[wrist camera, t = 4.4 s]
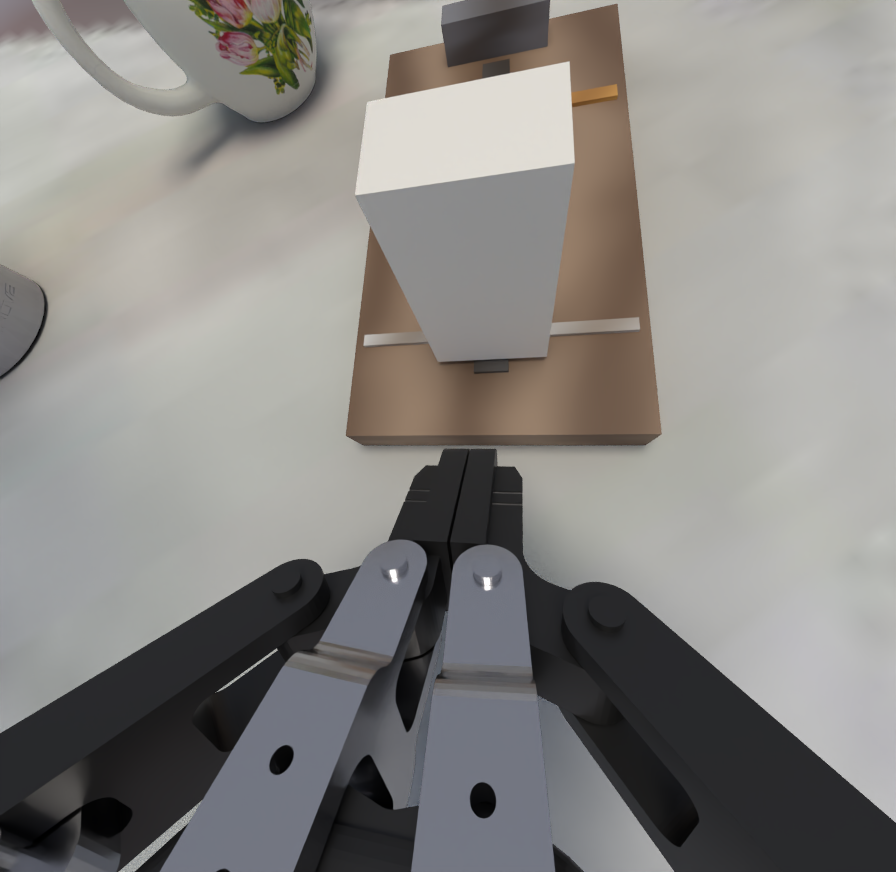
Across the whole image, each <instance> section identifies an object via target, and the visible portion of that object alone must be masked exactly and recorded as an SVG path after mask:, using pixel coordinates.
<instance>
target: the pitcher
mask: <svg viewBox="0 0 896 872" xmlns="http://www.w3.org/2000/svg"><path fill="white" fill-rule="evenodd" d="M123 1H124V2H125V4H126V5H127V6H128V8H129V9H130V10H131V12H132V13H133V14H134V15H135V17H136V18H137V20H138V21H139V22H140V23H141V25H142V26H143V27H144V29H145V30H146V31H147V32H148V33H149V35H150V36H151V37H152V38H153V39H154V41H155V42H156V43H157V44H158V45H159V46H160V48H161V49H162V50H163V51H164V52H165V53H166V54H167V55H168V56H169V57H170V58H171V59H172V60H173V61H174V62H175V63H176V64H177V65H178V66H179V67H180V68H181V69H182V70H183V71H184V72H185V74H186V76H187V81H186V83H185V84H184V85H182V86H180V87H178V88H175V89H169V90H160V89H152V88H147V87H142V86H139V85H136V84H133V83H131V82H129V81H127V80H125V79H123V78H122V77H121V76H119V75H118V74H116V73H115V72H114V71H112V70H111V69H110V68H109V67H108V66H107V65H106V64H105V63H104V62H103V61H102V60H100V59H99V58H98V56H97V55H96V54H95V53H94V52H93V51H92V50H91V49H90V47H89V46H88V45H87V44H86V43H85V42H84V40H83V39H82V37H81V36H80V35H79V33H78V32H77V30H76V29H75V28H74V26H73V24H72V23H71V21H70V19H69V17H68V16H67V14H66V12H65V10H64V8H63V6H62V3H61V1H60V0H32V2H33V4H34V6H35V8H36V9H37V11H38V12H39V14H40V16H41V17H42V19H43V20H44V22H45V24H46V25H47V27H48V28H49V29H50V31H51V32H52V33H53V35H54V36H55V37H56V38H57V40H58V41H59V42H60V44H61V45H62V46H63V47H64V49H65V50H66V51H67V52H68V53H69V54H70V55H71V56H72V57H73V58H74V59H75V60H76V62H77V63H78V64H79V65H80V66H81V67H82V68H83V69H84V70H85V71H86V72H87V73H88V74H89V75H90V76H92V77H93V78H94V79H95V80H96V81H97V82H98V83H99V84H100V85H101V86H103V87H104V88H105V89H106V90H108V91H109V92H111V93H112V94H113V95H115V96H116V97H118V98H119V99H120V100H122V101H124V102H126V103H128V104H130V105H132V106H134V107H136V108H138V109H141V110H143V111H146V112H149V113H153V114H158V115H163V116H182V115H186V114H190V113H193V112H195V111H198V110H200V109H202V108H204V107H206V106H209V105H211V104H214V103H223V104H224V105H226V106H227V107H229V108H230V109H232V110H234V111H236V112H238V113H240V114H241V115H244V116H245V117H246V118H247V119H249V120H251V121H254V122H269V121H274V120H277V119H280V118H282V117H284V116H286V115H288V114H290V113H291V112H293V111H294V110H295V109H297V108H298V107H299V106H300V105H301V104H302V103H303V102H304V101H305V100H306V99H307V97H308V96H309V95H310V93H311V91H312V89H313V87H314V84H315V79H316V74H315V69H316V58H317V49H316V35H315V27H314V20H313V15H312V9H311V4H310V0H123Z"/></svg>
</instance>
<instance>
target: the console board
mask: <svg viewBox="0 0 896 872" xmlns="http://www.w3.org/2000/svg"><path fill="white" fill-rule="evenodd" d="M549 8H550V0H465V1H460V2H456V3H452V4H448V5H444V6H442V21H441V27H442V33H443V39H444V43H441V44H436V45H432V46H427V47H423V48H418V49H414V50H410V51H405V52H401V53H396V54H392V55H390V61H389V69H388V78H387V87H386V95H385V98H389V97H394V96H399V95H404V94H409V93H414V92H419V91H424V90H429V89H434V88H439V87H444V86H449V85H454V84H459V83H464V82H469V81H474V80H479V79H484V78H489V77H494V76H499V75H504V74H509V73H514V72H519V71H524V70H529V69H534V68H539V67H544V66H549V65H554V64H558V63H563V62H568V61H569V62H570V81H571V100H572V120H573V139H574V158H575V165H574V172H573V179H572V186H571V193H570V200H569V206H568V213H567V220H566V227H565V234H564V241H563V248H562V255H561V262H560V269H559V276H558V282H557V289H556V296H555V303H554V310H553V317H552V324H551V331H550V338H549V345H548V352H547V357H532V358H510V359H489V360H468V361H446V362H438V361H437V359H436V357H435V355H434V353H433V351H432V349H431V347H430V345H429V343H428V341H427V339H426V337H425V335H424V333H423V331H422V329H421V327H420V325H419V323H418V321H417V319H416V317H415V315H414V313H413V311H412V309H411V307H410V305H409V303H408V301H407V299H406V297H405V295H404V293H403V291H402V289H401V287H400V285H399V283H398V281H397V279H396V277H395V275H394V273H393V271H392V269H391V267H390V265H389V263H388V261H387V259H386V257H385V255H384V253H383V251H382V249H381V247H380V245H379V243H378V241H377V239H376V237H375V235H374V233H373V231H372V229H371V227H370V233H369V241H368V250H367V258H366V267H365V276H364V284H363V293H362V301H361V310H360V318H359V327H358V336H357V344H356V353H355V361H354V370H353V379H352V387H351V396H350V404H349V413H348V422H347V430H346V436H347V437H349V438H351V439H353V440H354V441H356V442H358V443H360V444H362V445H646V444H648V443H649V442H651V441H652V440H654V439H655V438H657V437H658V436H660V435H661V434H662V433H661V424H660V414H659V404H658V395H657V385H656V375H655V365H654V356H653V346H652V336H651V326H650V317H649V307H648V297H647V287H646V278H645V268H644V258H643V248H642V239H641V229H640V219H639V209H638V200H637V190H636V180H635V170H634V161H633V151H632V141H631V132H630V122H629V112H628V102H627V93H626V83H625V73H624V63H623V54H622V44H621V34H620V24H619V15H618V5H617V4H614V5H609V6H605V7H600V8H596V9H592V10H587V11H583V12H578V13H574V14H569V15H565V16H561V17H556V18H552V19H549Z"/></svg>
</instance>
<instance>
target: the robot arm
mask: <svg viewBox="0 0 896 872" xmlns="http://www.w3.org/2000/svg"><path fill="white" fill-rule="evenodd" d="M43 315H44V298H43V293H42V291H41V289H40V287H39V286H38V285H37V284H36V283H35V282H34V281H32V280H30V279H28V278H26V277H24V276H22V275H20V274H18V273H16V272H14V271H12V270H11V269H9V268H7V267H5V266H3V265H1V264H0V376H1V375H2V374H4V373H5V372H7V371H8V370H9V369H10V368H11V367H13V366H14V365H15V364H16V363H17V362H18V361H19V360H20V359H21V357H22V356H23V355H24V354H25V352H26V351H27V350H28V349H29V347H30V345H31V344H32V342H33V340H34V339H35V337H36V335H37V333H38V330H39V328H40V326H41V322H42V318H43ZM445 611H448V619H447V628H446V638H445V647H444V657H443V665H442V670H441V673H440V674H438V675H437V677H436V680H435V684H434V689H433V695H432V702H431V710H430V718H429V727H428V735H427V743H426V752H425V760H424V769H423V777H422V785H421V794H420V802H419V806H415V807H408V808H406V807H407V803H408V799H409V795H410V791H411V786H412V781H413V775H414V767H415V749H416V741H417V735H418V731H419V727H420V723H421V719H422V716H423V712H424V708H425V704H426V701H427V697H428V693H429V689H430V685H431V682H432V678H433V674H434V670H435V666H436V663H437V659H438V655H439V651H440V647H441V642H442V635H441V630H442V625H443V619H444V614H445ZM276 648H277V649H278V651H276V652H275V653H274V654H272V655H271V656H270V657H268V658H267V659H265V660H264V661H263V662H261V663H260V664H259V665H257V666H256V667H254V668H253V669H252V670H250V671H249V672H248V673H246V674H245V675H243V676H242V677H241V678H239V679H238V680H237V681H235V682H234V683H232V684H231V685H230V686H228V687H227V688H225V689H223V690H221V691H219V692H217V691H218V690H219V689H221V688H222V687H223V686H225V685H226V684H228V683H229V682H230V681H232V680H233V679H235V678H236V677H237V676H239V675H240V674H241V673H243V672H244V671H246V670H247V669H248V668H250V667H251V666H252V665H254V664H255V663H257V662H258V661H259V660H261V659H262V658H264V657H265V656H266V655H268V654H269V653H270V652H272V651H273V650H275V649H276ZM215 692H216V693H215ZM537 695H538V696H540V697H542V698H544V699H546V700H548V701H550V702H552V703H554V704H556V705H557V706H559V708H560V710H561V712H562V714H563V716H564V717H565V719H566V720H567V722H568V723H569V724H570V726H571V727H572V729H573V730H574V731H575V733H576V734H577V736H578V737H579V738H580V740H581V741H582V743H583V744H584V745H585V747H586V748H587V750H588V751H589V752H590V754H591V755H592V757H593V758H594V759H595V761H596V762H597V764H598V765H599V766H600V768H601V769H602V771H603V772H604V773H605V775H606V776H607V778H608V779H609V780H610V782H611V783H612V785H613V786H614V787H615V789H616V790H617V792H618V793H619V794H620V796H621V797H622V799H623V800H624V802H625V803H626V804H627V806H628V807H629V809H630V810H631V811H632V813H633V814H634V816H635V817H636V818H637V820H638V821H639V823H640V824H641V825H642V827H643V828H644V830H645V831H646V832H647V834H648V835H649V837H650V838H651V839H652V841H653V842H654V844H655V845H656V846H657V848H658V849H659V851H660V852H661V853H662V855H663V856H664V858H665V859H666V860H667V862H668V863H669V865H670V866H671V867H672V869H673V870H674V872H896V823H895V822H894V821H893V820H892V819H891V818H889V817H888V816H887V815H886V814H885V813H884V812H883V811H881V810H880V809H879V808H878V807H877V806H876V805H874V804H873V803H872V802H871V801H870V800H869V799H867V798H866V797H865V796H864V795H863V794H862V793H860V792H859V791H858V790H857V789H856V788H855V787H854V786H852V785H851V784H850V783H849V782H848V781H847V780H845V779H844V778H843V777H842V776H841V775H840V774H838V773H837V772H836V771H835V770H834V769H833V768H831V767H830V766H829V765H828V764H827V763H826V762H824V761H823V760H822V759H821V758H820V757H819V756H818V755H816V754H815V753H814V752H813V751H812V750H811V749H809V748H808V747H807V746H806V745H805V744H804V743H802V742H801V741H800V740H799V739H798V738H797V737H795V736H794V735H793V734H792V733H791V732H790V731H788V730H787V729H786V728H785V727H784V726H783V725H782V724H780V723H779V722H778V721H777V720H776V719H775V718H773V717H772V716H771V715H770V714H769V713H768V712H766V711H765V710H764V709H763V708H762V707H761V706H759V705H758V704H757V703H756V702H755V701H754V700H752V699H751V698H750V697H749V696H748V695H747V694H746V693H744V692H743V691H742V690H741V689H740V688H739V687H737V686H736V685H735V684H734V683H733V682H732V681H730V680H729V679H728V678H727V677H726V676H725V675H723V674H722V673H721V672H720V671H719V670H718V669H716V668H715V667H714V666H713V665H712V664H711V663H710V662H708V661H707V660H706V659H705V658H704V657H703V656H701V655H700V654H699V653H698V652H697V651H696V650H694V649H693V648H692V647H691V646H690V645H689V644H687V643H686V642H685V641H684V640H683V639H682V638H680V637H679V636H678V635H677V634H676V633H675V632H674V631H672V630H671V629H670V628H669V627H668V626H667V625H665V624H664V623H663V622H662V621H661V620H660V619H658V618H657V617H656V616H655V615H654V614H653V613H651V612H650V611H649V610H648V609H647V608H646V607H644V606H643V605H642V604H641V603H640V602H639V601H638V600H636V599H635V598H634V597H633V596H631V595H630V594H629V593H627V592H626V591H624V590H622V589H621V588H618V587H616V586H614V585H610V584H607V583H601V582H588V583H584V584H580V585H578V586H576V587H575V588H573V589H572V590H571V591H570V590H567V589H565V588H562V587H559V586H556V585H554V584H551V583H549V582H547V581H545V580H543V579H541V578H540V577H539V576H537V575H536V574H535V573H534V572H533V571H532V570H531V569H530V568H529V566H528V565H527V563H526V561H525V559H524V556H523V520H522V477H521V476H520V474H519V473H518V471H517V470H516V468H515V467H500V466H497V450H496V449H471V450H470V449H444V450H443V452H442V455H441V458H440V461H439V464H438V466H428V465H426V466H425V467H424V468H423V469H422V470H421V471H420V472H419V473H418V474H417V475H415V477H414V479H413V482H412V484H411V486H410V491H408V494H407V496H406V499H405V502H404V503H403V506H402V508H401V511H400V513H399V516H398V518H397V520H396V523H395V525H394V528H393V530H392V533H391V535H390V537H389V540H388V542H386V543H383V544H381V545H379V546H378V547H376V548H375V549H373V550H372V551H371V552H370V553H369V554H368V555H367V557H366V558H365V560H364V561H363V563H362V565H361V566H359V567H356V568H352V569H348V570H343V571H338V572H333V573H329V574H324V573H323V571H322V569H321V567H320V566H319V565H318V564H317V563H316V562H314V561H312V560H308V559H297V560H292V561H289V562H286V563H284V564H282V565H280V566H278V567H276V568H274V569H273V570H271V571H269V572H268V573H266V574H264V575H263V576H261V577H259V578H258V579H256V580H254V581H253V582H251V583H249V584H248V585H246V586H244V587H243V588H241V589H239V590H238V591H236V592H234V593H233V594H231V595H230V596H228V597H226V598H225V599H223V600H221V601H220V602H218V603H216V604H215V605H213V606H211V607H210V608H208V609H206V610H205V611H203V612H201V613H200V614H198V615H196V616H195V617H193V618H191V619H190V620H188V621H186V622H185V623H183V624H181V625H180V626H178V627H176V628H175V629H173V630H171V631H170V632H168V633H166V634H165V635H163V636H161V637H160V638H158V639H156V640H155V641H153V642H151V643H150V644H148V645H146V646H145V647H143V648H141V649H140V650H138V651H137V652H135V653H133V654H132V655H130V656H128V657H127V658H125V659H123V660H122V661H120V662H118V663H117V664H115V665H113V666H112V667H110V668H108V669H107V670H105V671H103V672H102V673H100V674H98V675H97V676H95V677H93V678H92V679H90V680H88V681H87V682H85V683H83V684H82V685H80V686H78V687H77V688H75V689H73V690H72V691H70V692H68V693H67V694H65V695H63V696H62V697H60V698H58V699H57V700H55V701H53V702H52V703H50V704H48V705H47V706H45V707H43V708H42V709H40V710H39V711H37V712H35V713H34V714H32V715H30V716H29V717H27V718H25V719H24V720H22V721H20V722H19V723H17V724H15V725H14V726H12V727H10V728H9V729H7V730H5V731H4V732H2V733H0V872H118V871H120V870H121V869H122V868H123V867H124V866H125V865H127V864H128V863H129V862H130V861H131V860H132V859H134V858H135V857H136V856H137V855H138V854H139V853H141V852H142V851H143V850H144V849H145V848H147V847H148V846H149V845H150V844H151V843H152V842H154V841H155V840H156V839H157V838H158V837H159V836H161V835H162V834H163V833H164V832H165V831H166V830H168V829H169V828H170V827H171V826H172V825H173V824H175V823H176V822H177V821H178V820H179V819H180V818H182V817H183V816H184V815H185V814H186V813H187V812H189V811H190V810H191V809H192V808H193V807H194V806H196V805H197V804H198V803H199V802H200V801H201V800H202V802H201V804H200V805H199V807H198V809H197V810H196V812H195V814H194V815H193V817H192V819H191V820H190V822H189V823H188V824H187V825H186V826H185V827H184V828H183V829H181V830H180V831H179V832H178V833H177V834H176V835H175V836H174V837H172V838H171V839H170V840H169V841H168V842H167V843H166V844H165V845H164V846H163V847H161V848H160V849H159V850H158V851H157V852H156V853H155V854H154V855H153V856H152V857H150V858H149V859H148V860H147V861H146V862H145V863H144V864H143V865H142V866H141V867H140V868H138V869H137V870H136V871H135V872H584V871H583V870H582V869H581V868H580V867H579V866H578V865H577V864H576V863H575V862H574V861H573V860H572V859H571V858H570V857H569V856H567V855H566V854H565V853H564V852H562V851H561V850H560V849H559V848H557V847H556V846H555V845H554V844H552V836H551V826H550V816H549V806H548V796H547V787H546V777H545V767H544V757H543V747H542V737H541V727H540V718H539V708H538V699H537Z"/></svg>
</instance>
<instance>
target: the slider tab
mask: <svg viewBox="0 0 896 872" xmlns="http://www.w3.org/2000/svg"><path fill="white" fill-rule="evenodd" d="M574 165H575V158H574V139H573V120H572V100H571V81H570V62H569V61H568V62H563V63H558V64H554V65H549V66H544V67H539V68H534V69H529V70H524V71H519V72H514V73H509V74H504V75H499V76H494V77H489V78H484V79H479V80H474V81H469V82H464V83H459V84H454V85H449V86H444V87H439V88H434V89H429V90H424V91H419V92H414V93H409V94H404V95H399V96H394V97H389V98H384V99H379V100H374V101H369V102H367V108H366V116H365V123H364V131H363V138H362V146H361V154H360V161H359V169H358V176H357V184H356V191H355V197H356V199H357V201H358V203H359V205H360V207H361V209H362V211H363V213H364V215H365V217H366V219H367V221H368V223H369V225H370V227H371V229H372V231H373V233H374V235H375V237H376V239H377V241H378V243H379V245H380V247H381V249H382V251H383V253H384V255H385V257H386V259H387V261H388V263H389V265H390V267H391V269H392V271H393V273H394V275H395V277H396V279H397V281H398V283H399V285H400V287H401V289H402V291H403V293H404V295H405V297H406V299H407V301H408V303H409V305H410V307H411V309H412V311H413V313H414V315H415V317H416V319H417V321H418V323H419V325H420V327H421V329H422V331H423V333H424V335H425V337H426V339H427V341H428V343H429V345H430V347H431V349H432V351H433V353H434V355H435V357H436V359H437V361H438V362H446V361H468V360H489V359H510V358H532V357H547V352H548V345H549V338H550V331H551V324H552V317H553V310H554V303H555V296H556V289H557V282H558V276H559V269H560V262H561V255H562V248H563V241H564V234H565V227H566V220H567V213H568V206H569V200H570V193H571V186H572V179H573V172H574Z"/></svg>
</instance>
